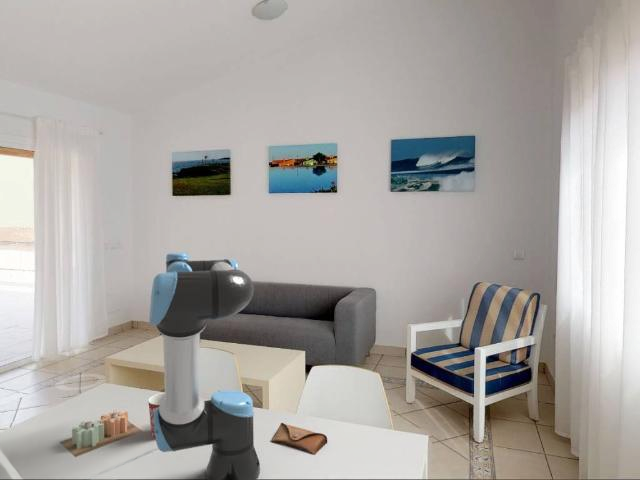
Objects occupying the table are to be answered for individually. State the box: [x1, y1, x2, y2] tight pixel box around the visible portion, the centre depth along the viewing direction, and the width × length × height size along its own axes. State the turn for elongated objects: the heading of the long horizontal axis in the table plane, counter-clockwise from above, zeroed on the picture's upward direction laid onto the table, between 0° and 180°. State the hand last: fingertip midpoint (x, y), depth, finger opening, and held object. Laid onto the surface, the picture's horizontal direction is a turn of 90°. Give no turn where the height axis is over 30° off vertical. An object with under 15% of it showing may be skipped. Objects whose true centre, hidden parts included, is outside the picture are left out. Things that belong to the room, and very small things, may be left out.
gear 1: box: [71, 419, 104, 449], centre depth 140 cm, size 9×8×5 cm
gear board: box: [59, 412, 143, 458], centre depth 144 cm, size 13×21×8 cm, turn 139°
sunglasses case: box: [269, 422, 328, 455], centre depth 143 cm, size 18×7×7 cm, turn 63°
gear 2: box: [99, 410, 129, 437], centre depth 147 cm, size 9×8×5 cm
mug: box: [147, 392, 165, 439], centre depth 147 cm, size 13×9×14 cm
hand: (179, 359), depth 150 cm, fingers open, 13 cm apart
